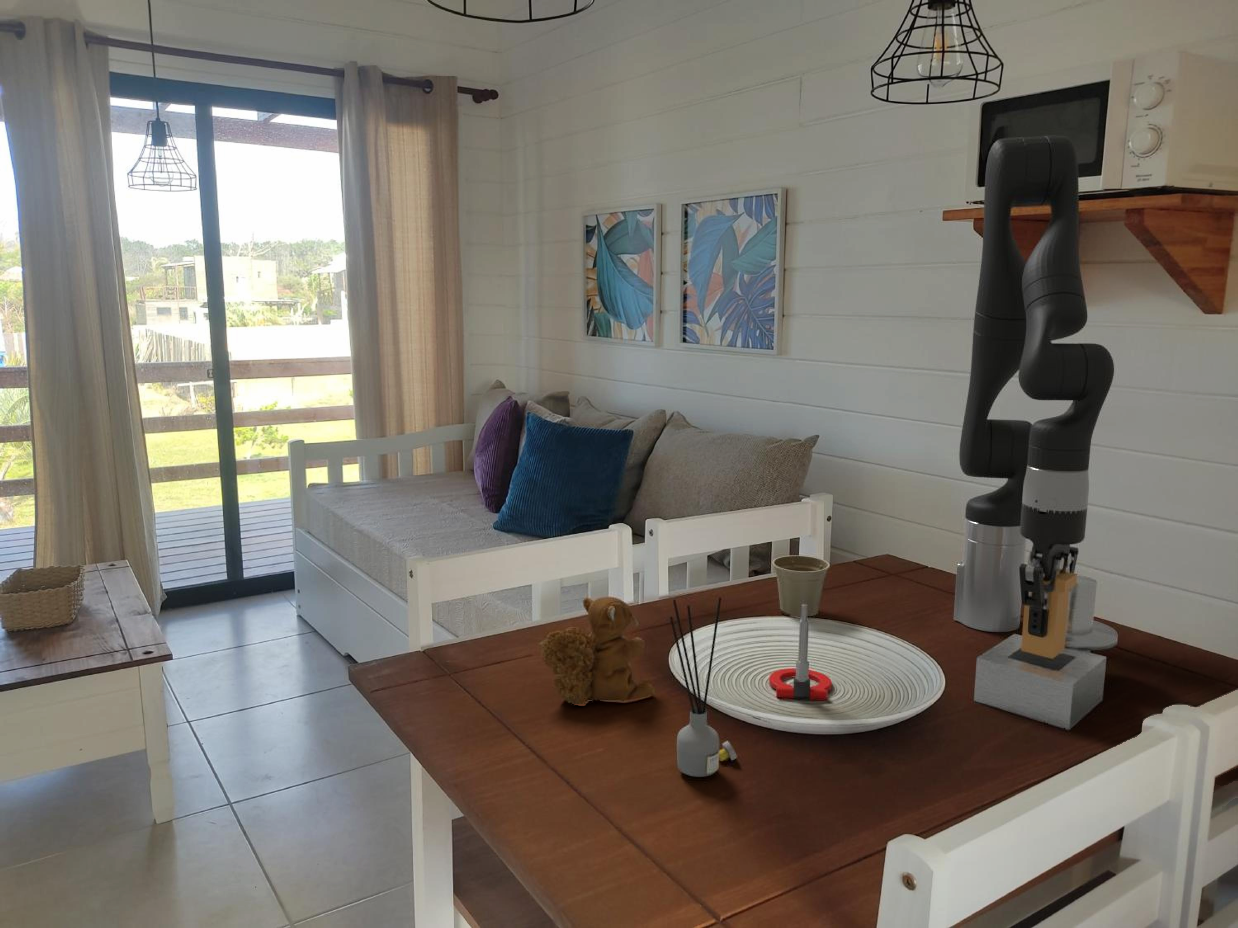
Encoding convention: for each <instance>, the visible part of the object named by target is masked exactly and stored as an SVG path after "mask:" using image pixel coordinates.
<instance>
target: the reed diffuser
mask: <svg viewBox="0 0 1238 928" xmlns="http://www.w3.org/2000/svg"><path fill="white" fill-rule="evenodd" d="M672 601H673V607H674V611H675V615H676V620H677V621H676V622H677V625H678V630H679V634H680V638H681V642H682V648H683V652H684V657H685V661H686V665H687V670H688V675H689V678H690V684H691V689H692V693H693V696H694V701H695V706H694V703H693V697H692V694H691V690H690V686H689V680H688V677H687V673H686V668H685V664H684V660H683V655H682V653H681V651H682V650H681V647H680V643H679V639H678V636H677V631H676V627H675V626H676V625H675V623H674V617H673V616H672V615H670V616H669V621H670V624H671V628H672V631H673V636H674V641H675V645H676V649H677V654H678V656H679V661H680V666H681V670H682V673H683V679H684V681H685V686H686V691H687V694H688V698H689V704H690V707H691V708H690V710H689V724H687V725H685V726H684V727H682V728H681V729H680V730H679V731H678V734H677V737H676V757H677V759H676V761H677V769H678V770H679V771H680V772H681V773H683V774H685V775H687V776H691V777H697V778H698V777H701V778H702V777H708V776H711V775H713V774H715V773H717V770H718V769H719V766H720V765H719V763H720V762H723V761H725V760H727V759H728V758H730V759H731V760H730V759H729V760H730V761H734V760H736V759H737V758H738V756H737V754H736V752H735V749H734V748H733V746H732V745H731V743H730V741H728V740H726V741H724V742H723V743H721V745H722V749H720V737H719V734H718V732H717V731H716V729H714V728H712V727H711V726H710V725H709V724H708V720H707V719H708V710H707V707H706V706H707V699H708V692H709V686H710V680H711V679H710V677H711V673H712V665H713V657H714V652H715V651H714V650H715V645H716V639H717V632H718V631H717V630H718V623H719V616H720V611H721V602H722V597H720V596H719V597H718V602H717V603H718V604H717V610H716V616H715V624H714V630H713V637H712V642H711V643H712V644H711V651H710V656H709V666H708V672H707V678H706V685H705V692H704V699H703V704H702V698H701V689H700V681H699V672H698V665H697V664H698V663H697V657H696V650H695V649H696V648H695V647H696V646H695V641H694V639H695V638H694V633H693V625H692V617H691V615H692V614H691V605H690V604H687V605H686V607H687V616H688V624H689V632H690V641H691V649H692V658H693V665H694V673H695V681H696V687H695V683H694V682H695V681H694V678H693V674H692V670H691V665H690V660H689V656H688V652H687V647H686V642H685V637H684V633H683V628H682V625H681V620H680V615H679V611H678V605H677V602H676V599H674V598H673V599H672ZM695 688H696V689H695ZM696 691H697V693H696ZM702 705H703V706H702Z"/></svg>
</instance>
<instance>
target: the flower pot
mask: <svg viewBox="0 0 1238 928" xmlns="http://www.w3.org/2000/svg"><path fill="white" fill-rule="evenodd" d="M771 563H772V566H773V567H774V568H773V569H774V573H775V574H776V579H777V580H776V581H777V590H778V600H779V608H780V609H781V610H782V611H784V612H786V613H789V614H791V615H790V616H797V617H801V616H802V605H803V604H807V605H808V615H807V617H811V616H813V615H815V616H817V615H818V613H819V608H820V601H821V598H822V597H821V596H822V590H823V585H824V580H825V577H826V576H827V572H828V570H829V568H830V566H831V565H830V563H829V562H828V561H827V560H825V559H822V558H820V557H815V556H811V555H810V556H809V555H797V554H796V555H794V554H793V555H783V556H779V557H776V558H774V559H773V560H772V562H771ZM781 610H780V611H781ZM784 612H783V613H784ZM816 614H817V615H816ZM790 616H789V617H790ZM797 617H796V618H797ZM813 617H814V616H813Z"/></svg>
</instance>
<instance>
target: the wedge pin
mask: <svg viewBox="0 0 1238 928" xmlns="http://www.w3.org/2000/svg"><path fill="white" fill-rule="evenodd" d="M1077 575H1078V573H1075V572H1074V573H1069V572H1068V573H1066V574H1065V573H1060V575H1059V578H1058V579H1057V581H1056V590H1055V592H1052V593H1051V601H1050V607H1049V616H1048V628H1047V635H1046V636H1045V637H1037V636H1033V635H1030V634H1029V633H1028V620H1029V608H1030V606H1027V605H1023V606H1024V607H1023V609H1024V610H1023V620H1022V621H1023V622H1022V632H1021V636H1022V644H1021V651H1024V652H1028V653H1032V654H1036V655H1040V656H1044V657H1047V658H1051V659H1053V658H1055V657H1056V656H1057V655H1059V654H1060V653H1061V652H1063V651H1064V648H1065V636H1066V625H1067V614H1068V602H1069V591H1070V589H1071V588H1073V587H1074V586H1076V582H1077ZM1050 582H1051V580H1050V581H1044V585H1049V584H1050ZM1044 595H1045V592H1044ZM1035 598H1037V595H1036V594H1035Z"/></svg>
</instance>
